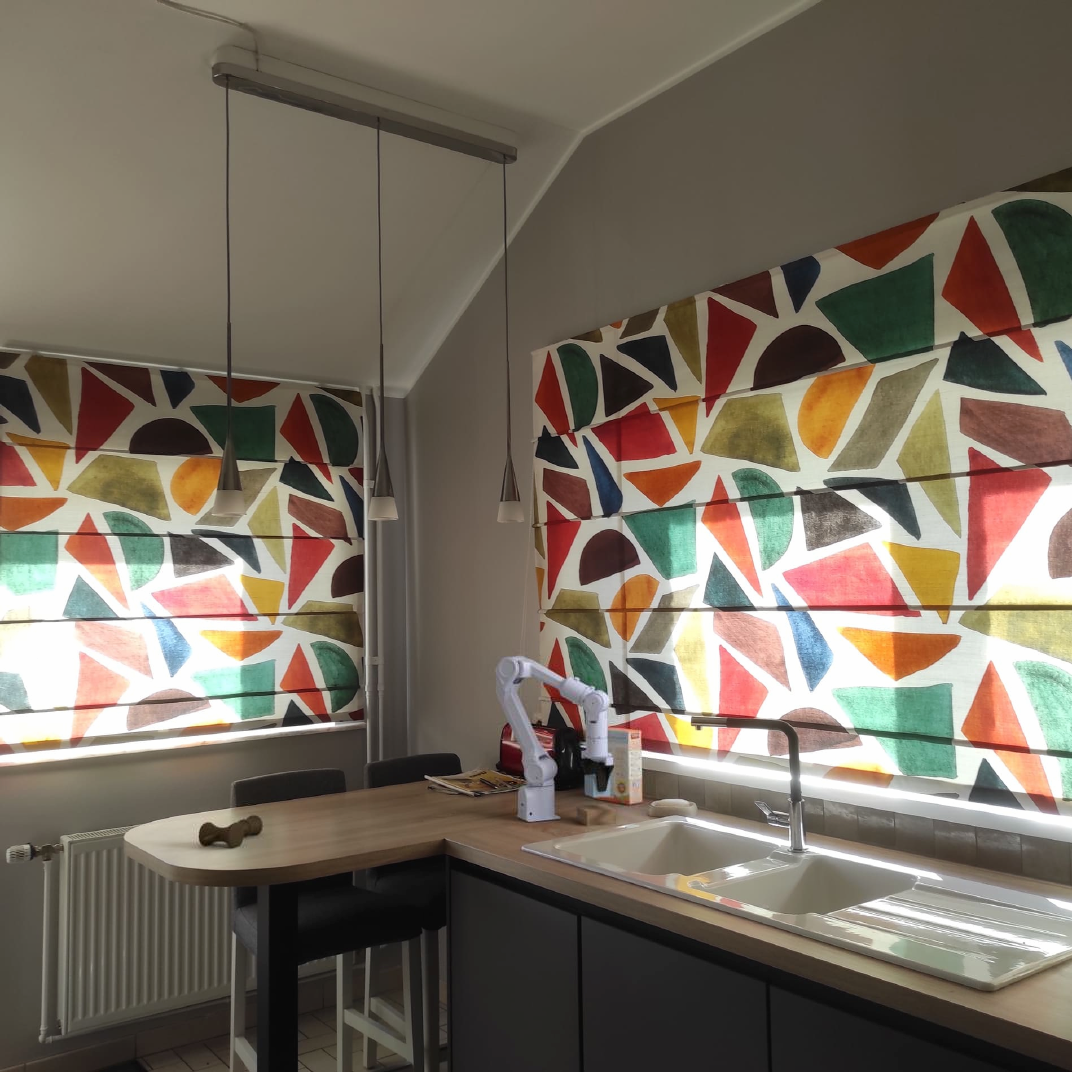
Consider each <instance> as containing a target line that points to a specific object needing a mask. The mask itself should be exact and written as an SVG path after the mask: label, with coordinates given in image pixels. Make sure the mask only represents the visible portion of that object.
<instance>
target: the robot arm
mask: <svg viewBox="0 0 1072 1072" xmlns="http://www.w3.org/2000/svg"><path fill="white" fill-rule="evenodd" d="M494 674H495V675H496V680H495V681H496V682H495V694H496V697H497V699H498V702H499V704H500V706H501V708H502V711H503V712H504V715H505V717H506V720H507V722H508V724H509V727H510V729H511V731H512V732H513V735H514V737H515V740H516V742H517V745H518V746H519V748H520V750H521V752H522V757H521V763H522V766H523V776H524V778H525V780H526V781H527V784H526V785H522V786H520V787H519V788H518V792H517V811H518V812H517V815H516V817H518V818H520V819H521V820H523V821H526V822H528V823H531V822H541V821H551V820H560V819H561V816H559V815H558V814H556V813H555V812H556V809H555V807H556V806H555V803H556V801H555V780H554V778H555V776H556V775H557V773H558V765H557V763H556V761H555V760H554V759H553V758H552V757H551V756H550V754H549V753H548V750H546V749H545V748H544V747H543V746H542V745H541V744H540V741H539V739H538V736H537V735H536V733H535V730H534V727H533V726H532V724H531V721H530V719H529V717H528V715H527V713H526V710H525V708H524V706H523V704H522V701H521V699H520V697H519V695H518V691H519V689H520V686H521V684H522V682H523V681H524V680H525V679H526V678H534V679H536V680H539V681H540V682H543V683H544V684H547V685H549V686H551V687H554V688H555V689H557V690H558V691H559V694H560V696H561V697H563V698H564V699H566V700H568V701H570V702H572V703H574V704H575V705H578V706H579V707H582V709H583V710H584V711H585V750H581V759H584V760H580V761H579V763H580V766H581V767H582V770H583V772H584V776H585V775H593V774H595V775H596V781H597V789H598V791H599V792H603V791H606V789H607V785H608V781H609V777H610V774H611V772H612V770H613V768H614V765H613V757H611V756H612V754H611V753H608V731H607V727H608V708H609V707H610V702H611V699H610V697H609V695H608V694H607V693H606V692H604V691H603V689H598V690H595V689H596V687H595V686H593V685H591V686H590V685H587V684H586V683H583V682H582V681H580V680H581V679H580V678H579V677H577V676H575V677H572V676H570V677H567V678H564V677H562V676H561V675H559V674H557V673H556V672H554V671H553V670H550V669H549V668H547V667H545V666H544V665H542V664H540V663H539V662H536V661H535V660H533V659H531V658H527V657H526V656H524V655H516V656H504V657H503V658H501V659H500V660H499V661H498V664H497V665H496V668H495V669H494Z"/></svg>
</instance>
